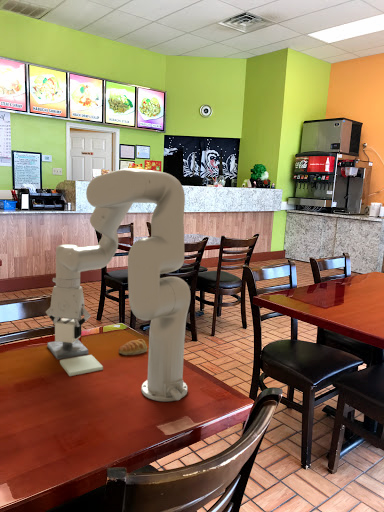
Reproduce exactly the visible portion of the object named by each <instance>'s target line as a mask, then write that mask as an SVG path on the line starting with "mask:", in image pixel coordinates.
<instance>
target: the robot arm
mask: <svg viewBox="0 0 384 512" xmlns="http://www.w3.org/2000/svg"><path fill="white" fill-rule="evenodd" d="M85 195H86V200H87V202H88V203H89V204H90V205H91V206H92V207H94V210H93V212H92V213H91V215H90V218H89V223H90V224H91V226H92V228H93V229H94V230H96V232H98V233H99V234H102V236H101V238H100V240H99V242H98V243H97V244H96V245H89V246H87V245H85V246H79V245H77V244H73V243H69V244H67V243H66V244H59V245H57V246H56V249H55V250H56V251H55V277H53V278H52V282H53V283H55V285H54V286H53V287H52V292H51V299H50V306H49V308H48V309H47V310H45V314H46V315H47V316H48V317H49V318H50V320H51V321H52V323H53V325H55V323H56V322H58V321H59V320H61V319H63V318H66V319H74V321H75V324H76V326H75V332H74V338H76V339H77V338H78V337H79V336H80V335H81V336H82V326H83V324H84V323H85V322H87V321H88V319H90V318H91V316H92V315H91V314H90V312H89V311H88V310H87V309H86V307H85V295H84V289H83V286H81V273H82V272H87V271H93V270H99V269H103V268H105V267H106V266H108V265H109V264H110V262H111V261H112V260H113V257H115V254H116V253H117V250H118V248H119V234H118V229H119V227H120V226H121V224H122V222H123V221H124V219H125V217H126V215H127V214H128V212H129V211H130V209H131V208H132V205H133V204H137V203H138V204H149V203H150V204H155V205H156V206H155V208H154V209H153V211H152V215H151V219H150V220H151V221H150V227H151V232H150V233H151V234H150V237H143V238H140V239H138V240H136V241H135V242H134V243H133V244H132V245H131V247H130V249H129V251H128V255H127V284H128V285H127V286H128V287H127V290H128V302H129V307H130V310H131V312H132V314H133V315H134V316H135V317H136V318H137V319H139V320H140V321H150V324H149V333H148V334H149V336H148V360H147V379H146V380H145V381H144V382H143V383H142V384H141V387H140V388H141V389H140V390H141V393H142V394H143V396H145V397H146V398H148V399H150V400H153V401H156V402H165V403H166V402H174V401H179V400H181V399H183V398H184V397H185V396H186V395H188V389H189V388H188V385H187V383H186V382H184V379H183V375H184V373H183V372H184V359H185V358H184V355H185V339H186V325H187V316H188V313H189V308H190V304H191V290H190V286H189V284H188V283H187V282H186V281H185V280H184V279H183V278H181V277H178V276H166V277H165V276H164V277H161V275H163V274H168V273H172V272H175V271H177V270H179V269H181V268H182V267H183V265H184V262H185V222H184V220H185V218H184V217H185V205H186V198H185V197H186V195H185V189H184V187H183V185H182V184H181V182H180V180H179V179H177V178H176V177H175V176H173V175H172V174H170V173H167V172H163V171H159V170H151V169H143V168H142V169H141V168H132V167H131V168H129V167H128V168H127V167H126V168H122V169H118V170H115V171H111V172H106V173H104V174H100V175H97V176H96V177H94V178H92V180H90V182H88V185H87V187H86V193H85ZM82 316H84V317H82ZM78 339H79V338H78Z"/></svg>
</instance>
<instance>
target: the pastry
mask: <svg viewBox="0 0 384 512" xmlns="http://www.w3.org/2000/svg"><path fill="white" fill-rule="evenodd" d="M147 351H148V346H147V344H146V341H145V340H144V339H143V338H138V339H134V340H130V341H128V342H126V343H124V344H123V345H121V346H119V348H118V353H119V354H121V355H123V356H129V355H130V356H134V355H140V354H143V353H146V352H147Z"/></svg>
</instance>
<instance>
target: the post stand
mask: <svg viewBox="0 0 384 512" xmlns="http://www.w3.org/2000/svg"><path fill="white" fill-rule="evenodd" d="M47 348H48V349H49V351H50V352H51V354H52V355H53V356H54V357H55V359H56V360H64V359H69V358H75V357H81V356H87V355H89V349H88V348H87V347H86V346H85V345H84V344H83V342H81V340H79V338H78V339H77V340H76V341H74V342H73V343H69V342H60V341H55V340H54V341H49V342H48V341H47Z"/></svg>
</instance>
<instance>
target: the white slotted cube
mask: <svg viewBox="0 0 384 512" xmlns="http://www.w3.org/2000/svg"><path fill="white" fill-rule="evenodd" d="M75 326H76V324H75V321H74V319H66V318H61V320H59V321H58V322H56V323H55V324H54V341H60V342H69V343H73V342H74V341H76V340H77V339H78V340H79V339H80V338H81V336H82V334H81V335H80V336H79V337H78V338H77V339H76V338H74V332H75Z"/></svg>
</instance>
